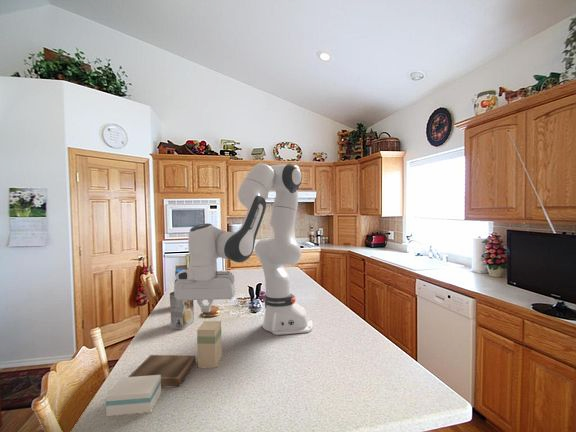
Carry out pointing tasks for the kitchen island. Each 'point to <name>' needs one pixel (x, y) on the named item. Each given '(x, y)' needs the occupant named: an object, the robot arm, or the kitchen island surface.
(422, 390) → the kitchen island surface
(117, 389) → the wide carton
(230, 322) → the kitchen island surface
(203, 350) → the slim carton
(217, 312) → the hamburger
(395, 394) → the kitchen island surface
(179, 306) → the coffee box
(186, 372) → the brown wooden tray
